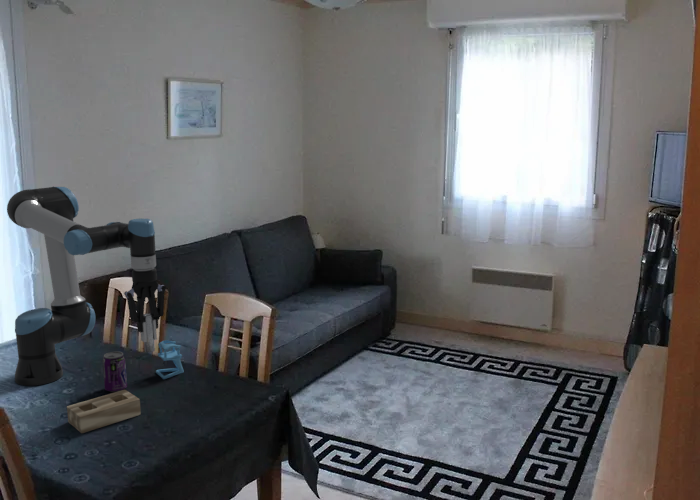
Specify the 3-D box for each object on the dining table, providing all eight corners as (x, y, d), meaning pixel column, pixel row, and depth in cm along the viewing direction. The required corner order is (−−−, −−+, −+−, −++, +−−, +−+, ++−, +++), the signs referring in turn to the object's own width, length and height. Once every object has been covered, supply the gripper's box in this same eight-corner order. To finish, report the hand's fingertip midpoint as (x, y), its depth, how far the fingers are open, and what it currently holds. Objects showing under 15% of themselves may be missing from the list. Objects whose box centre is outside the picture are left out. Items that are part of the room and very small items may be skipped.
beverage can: (120, 394, 222) (117, 359, 219) (100, 392, 223) (97, 357, 221) (131, 385, 228) (128, 351, 226) (112, 384, 230) (109, 350, 228)
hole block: (68, 422, 202) (66, 406, 201) (126, 404, 214) (125, 389, 213) (81, 433, 195) (80, 417, 194) (140, 414, 206) (139, 399, 205)
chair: (186, 374, 238) (184, 341, 236) (163, 379, 234) (161, 346, 231) (178, 367, 244) (176, 335, 242) (155, 372, 240) (153, 340, 238)
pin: (143, 350, 219) (140, 314, 216) (151, 348, 221) (149, 312, 218) (147, 353, 217) (145, 316, 214) (156, 350, 219) (153, 314, 216)
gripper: (125, 274, 205) (130, 348, 210) (172, 266, 216) (176, 337, 221) (114, 270, 211) (120, 342, 216) (161, 262, 221) (165, 331, 226)
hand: (148, 339), depth 218 cm, fingers closed on pin, 3 cm apart
